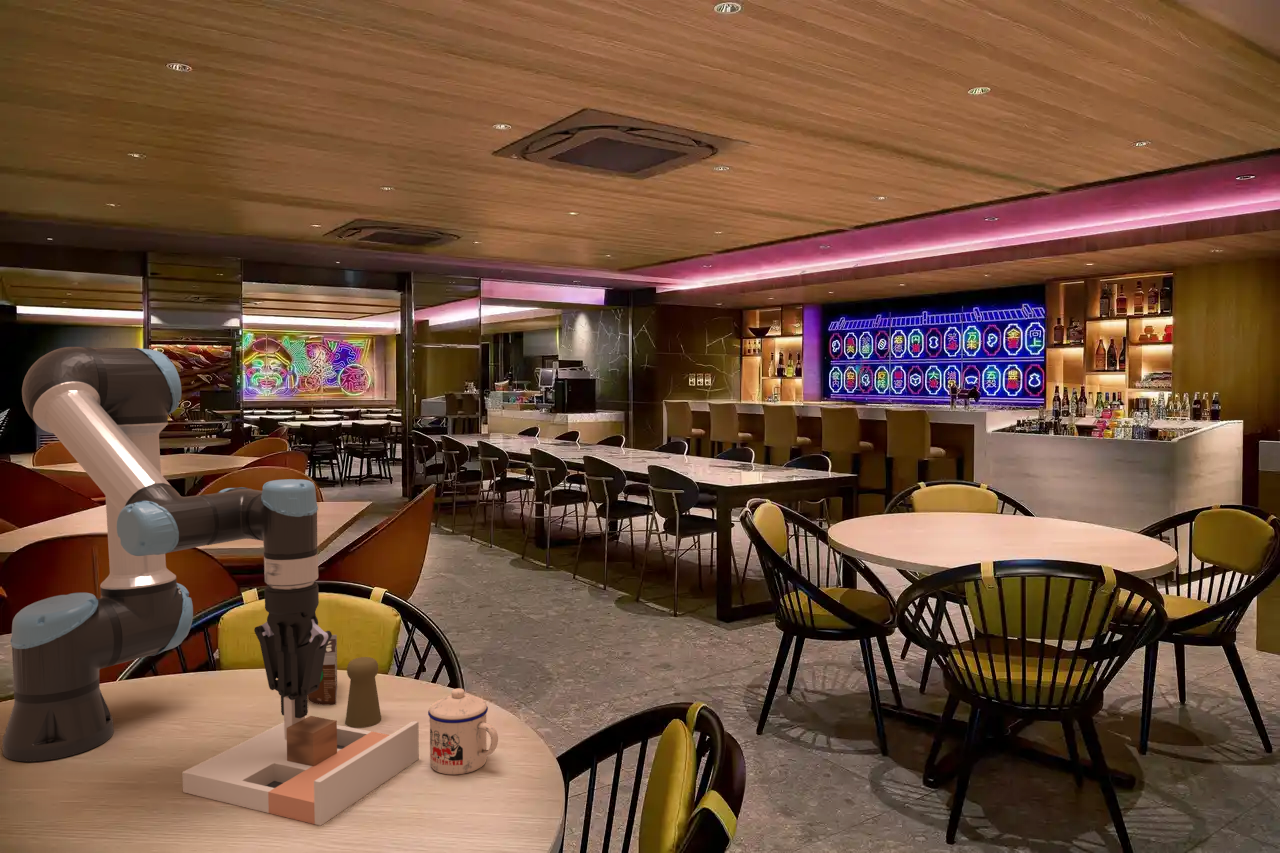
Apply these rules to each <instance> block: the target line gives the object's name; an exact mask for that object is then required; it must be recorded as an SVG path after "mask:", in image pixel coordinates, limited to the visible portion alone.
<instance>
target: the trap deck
mask: <svg viewBox="0 0 1280 853" xmlns="http://www.w3.org/2000/svg"><path fill="white" fill-rule="evenodd" d="M419 727H420V726H419V721H416V720H412V721H410V722H409V723H407V724H406V725H403V727H400V728H399V729H398V730H396V731H394V732H393V733H391V734H386V733H381V732H377V731H371V730H365V729H361V728H353V727H349V726H345V725H339V724H337V753H336V754H334V755H333V756H331V757H329V758H328V759H326V760H324V761H322V762H321V763H319V764H317V765H315V766H309V765H304V764H300V763H295V762H291V761H287V740H285V735H284V721H282V722H280V723H279V724H276V725H274V726H273V727H270V728H268V729H267V730H264V731H262V732H260V733H258V734H256V735H254V736H252V737H250V738H247V739H246V740H245V741H244V740H243V741H242V742H239V743H238V744H236V745H234V746H232V747H230V748H228V749H225V750H224V751H222V752H219V753H218V754H216V755H213V756H212V757H210V758H208V759H206V760H204V761H202V762H200V763H198V764H195V765H193V766H192V767H190V768H187V769H186V770H183V771H181V772H182V774H181V775H182V792H183V793H185V794H189V795H194V796H196V797H197V796H198V797H201V798H206V799H209V800H214V801H218V802H221V803H226V804H229V805H234V806H239V807H244V808H246V809H250V810H254V811H258V812H263V813H268V814H272V815H275V816H279V817H283V818H288V819H291V820H296V821H300V822H303V823H308V824H312V825H316V826H320V827H321V826H323V825H324V824H325V823H327V822H328V821H330V820H332V819H333V818H334V817H335V816H337V815H339V814H340V813H342V812H343V811H345V810H346V809H348V808H349V807H350V806H352V805H353V804H355V803H356V802H358V801H359V800H361V799H362V798H364V797H365V796H366V795H368V794H370V793H371V792H372V791H374V790H375V789H377V788H378V787H380V786H381V785H383V784H384V783H386V782H387V781H389V780H390V779H392V778H393V777H395V776H396V775H397V774H399V773H400V772H402V771H403V770H405V769H407V768H408V767H409V766H411V765H412V764H414V763H415V762H417V761H418V760H419V759H420V751H419V750H420V749H419V748H420V742H419V741H420V740H419V738H420V737H419V733H420V732H419Z"/></svg>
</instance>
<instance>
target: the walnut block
mask: <svg viewBox="0 0 1280 853" xmlns="http://www.w3.org/2000/svg"><path fill="white" fill-rule="evenodd" d="M337 723H338V721H337V720H335V719H329V718H324V717H319V716H313V715H309V716H308V717H305V719H303V720H301V721H299V722H297V723H295V724H293V725H291V726H289V727H287V761H291V762H295V763H300V764H304V765H309V766H315V765H317V764H319V763H321V762H322V761H324V760H326V759H328V758H329V757H331V756H333V755H334V754H336V753H337V725H338V724H337Z"/></svg>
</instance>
